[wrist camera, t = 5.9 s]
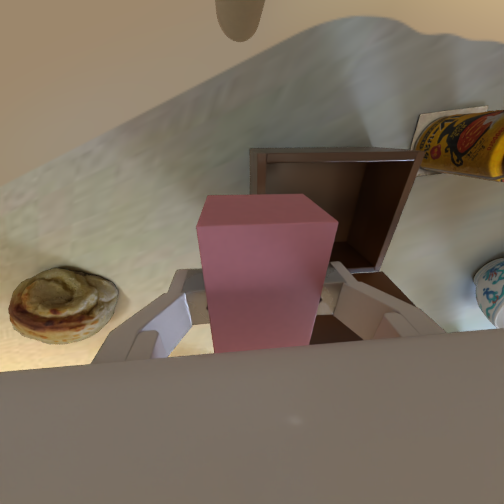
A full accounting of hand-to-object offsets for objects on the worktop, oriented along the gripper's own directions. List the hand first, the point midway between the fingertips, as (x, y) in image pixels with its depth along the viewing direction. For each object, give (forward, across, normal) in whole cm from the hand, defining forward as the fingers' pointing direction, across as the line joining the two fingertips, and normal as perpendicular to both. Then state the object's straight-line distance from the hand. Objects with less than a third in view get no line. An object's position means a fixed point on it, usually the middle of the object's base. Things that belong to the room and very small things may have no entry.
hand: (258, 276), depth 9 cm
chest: (+19, -9, +2) cm, 21 cm away
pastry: (+19, +27, +17) cm, 37 cm away
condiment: (+19, -26, -5) cm, 33 cm away
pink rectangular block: (+2, 0, 0) cm, 2 cm away
